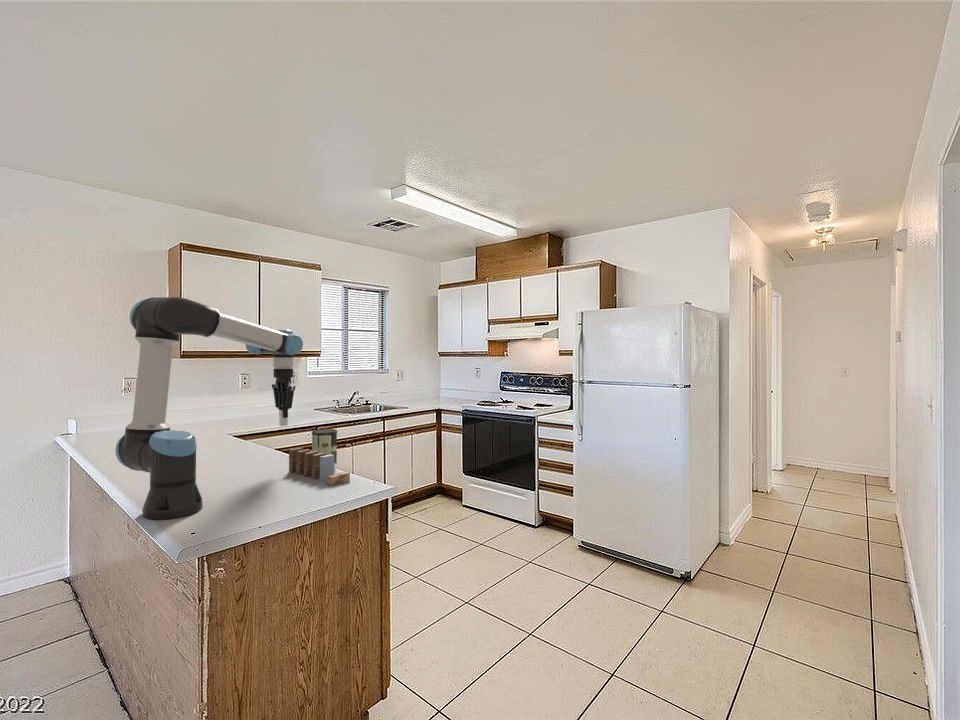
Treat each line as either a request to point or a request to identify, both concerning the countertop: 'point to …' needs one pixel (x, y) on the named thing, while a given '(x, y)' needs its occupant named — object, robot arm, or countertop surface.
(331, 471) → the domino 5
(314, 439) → the coffee can
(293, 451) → the domino
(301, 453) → the domino
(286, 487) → the countertop surface
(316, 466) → the domino
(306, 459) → the domino
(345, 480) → the stop block
